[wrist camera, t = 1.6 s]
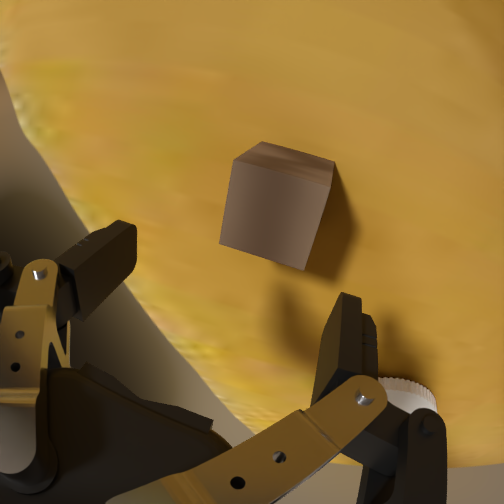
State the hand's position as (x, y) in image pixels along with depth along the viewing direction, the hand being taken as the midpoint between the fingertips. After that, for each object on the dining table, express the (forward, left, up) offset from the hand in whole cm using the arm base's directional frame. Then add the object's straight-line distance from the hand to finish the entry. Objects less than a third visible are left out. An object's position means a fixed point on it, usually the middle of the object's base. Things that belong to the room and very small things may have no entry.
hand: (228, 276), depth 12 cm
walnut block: (0, 0, -12) cm, 12 cm away
